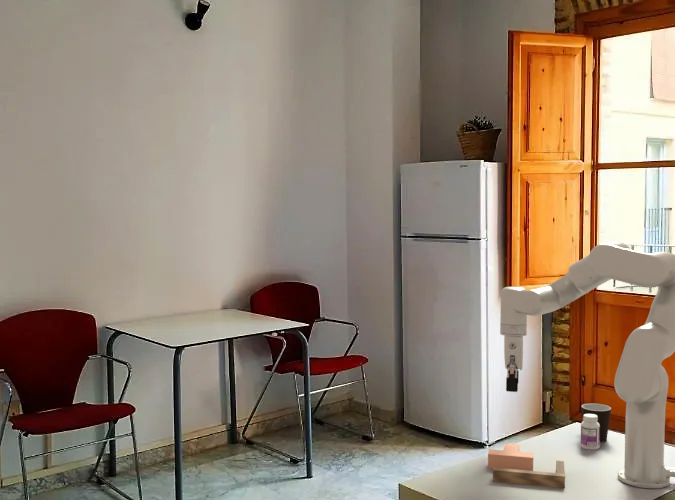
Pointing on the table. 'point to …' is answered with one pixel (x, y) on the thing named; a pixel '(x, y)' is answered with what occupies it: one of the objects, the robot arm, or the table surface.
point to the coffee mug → (599, 417)
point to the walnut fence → (532, 476)
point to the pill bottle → (590, 432)
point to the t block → (510, 458)
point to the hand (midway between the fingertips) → (512, 387)
